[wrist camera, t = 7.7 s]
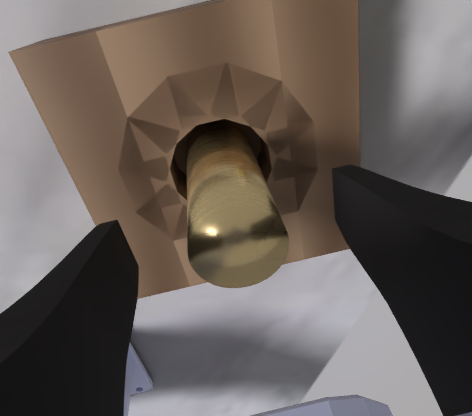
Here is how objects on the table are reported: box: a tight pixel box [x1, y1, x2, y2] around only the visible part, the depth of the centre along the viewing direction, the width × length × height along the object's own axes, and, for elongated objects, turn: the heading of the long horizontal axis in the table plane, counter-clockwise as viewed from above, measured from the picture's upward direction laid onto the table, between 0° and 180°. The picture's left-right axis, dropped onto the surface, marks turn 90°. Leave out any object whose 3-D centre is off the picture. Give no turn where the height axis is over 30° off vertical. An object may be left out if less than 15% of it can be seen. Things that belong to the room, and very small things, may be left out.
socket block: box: [9, 0, 360, 299], centre depth 17 cm, size 12×12×4 cm
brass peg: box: [187, 119, 289, 288], centre depth 14 cm, size 3×3×8 cm
